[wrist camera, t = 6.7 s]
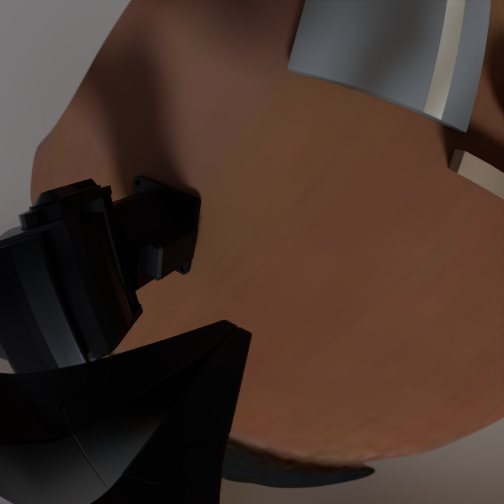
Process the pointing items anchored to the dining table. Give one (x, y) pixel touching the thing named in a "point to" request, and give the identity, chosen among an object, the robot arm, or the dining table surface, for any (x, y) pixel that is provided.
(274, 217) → the dining table surface
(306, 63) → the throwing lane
